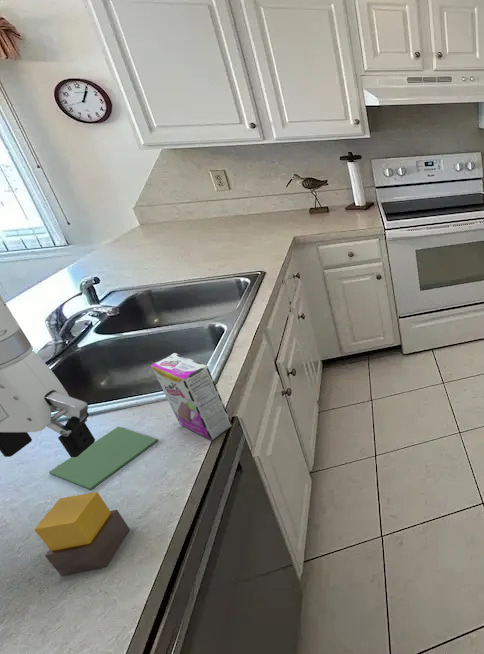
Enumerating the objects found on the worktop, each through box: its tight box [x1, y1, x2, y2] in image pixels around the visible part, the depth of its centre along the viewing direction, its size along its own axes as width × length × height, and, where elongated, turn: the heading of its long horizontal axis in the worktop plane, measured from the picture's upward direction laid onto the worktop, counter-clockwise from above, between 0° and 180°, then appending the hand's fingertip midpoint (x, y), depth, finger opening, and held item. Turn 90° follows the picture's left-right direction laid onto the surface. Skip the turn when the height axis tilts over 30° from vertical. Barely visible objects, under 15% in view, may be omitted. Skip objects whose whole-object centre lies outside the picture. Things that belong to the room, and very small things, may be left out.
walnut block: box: [44, 509, 131, 577], centre depth 64 cm, size 6×6×5 cm
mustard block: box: [33, 491, 111, 551], centre depth 62 cm, size 5×5×5 cm
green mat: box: [48, 426, 159, 491], centre depth 82 cm, size 12×12×1 cm
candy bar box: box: [150, 352, 233, 441], centre depth 85 cm, size 11×5×16 cm, turn 65°
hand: (51, 449), depth 59 cm, fingers open, 9 cm apart
